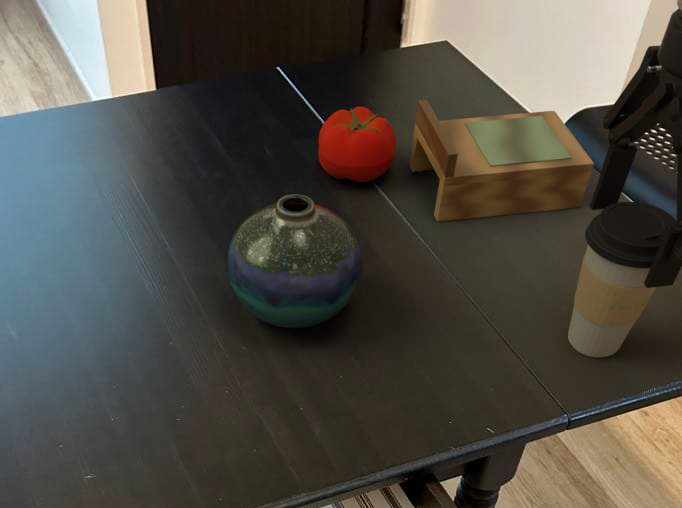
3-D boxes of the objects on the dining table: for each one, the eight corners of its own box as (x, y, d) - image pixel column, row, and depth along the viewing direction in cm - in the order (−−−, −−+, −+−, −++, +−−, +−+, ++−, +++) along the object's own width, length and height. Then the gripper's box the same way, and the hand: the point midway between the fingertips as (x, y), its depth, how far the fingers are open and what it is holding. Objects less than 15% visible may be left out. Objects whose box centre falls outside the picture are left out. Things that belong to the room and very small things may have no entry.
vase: (263, 255, 105) (262, 153, 94) (376, 287, 101) (388, 185, 90) (206, 325, 96) (197, 223, 86) (326, 364, 93) (333, 261, 82)
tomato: (381, 198, 112) (387, 144, 106) (305, 183, 115) (307, 129, 109) (401, 159, 118) (408, 106, 112) (329, 145, 120) (332, 93, 114)
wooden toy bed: (542, 153, 119) (560, 87, 112) (580, 207, 111) (601, 140, 104) (409, 166, 117) (418, 100, 110) (437, 222, 109) (448, 154, 102)
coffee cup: (609, 380, 91) (660, 263, 79) (535, 342, 95) (573, 224, 83) (650, 338, 95) (704, 221, 83) (578, 303, 99) (619, 186, 87)
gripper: (615, -40, 75) (550, 181, 92) (755, 92, 60) (647, 325, 77) (692, -44, 75) (613, 175, 92) (849, 84, 61) (721, 317, 78)
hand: (628, 244), depth 85 cm, fingers open, 13 cm apart
